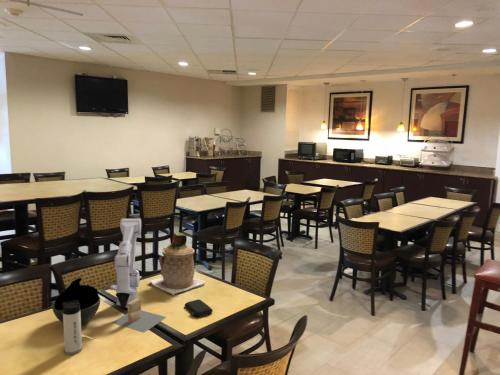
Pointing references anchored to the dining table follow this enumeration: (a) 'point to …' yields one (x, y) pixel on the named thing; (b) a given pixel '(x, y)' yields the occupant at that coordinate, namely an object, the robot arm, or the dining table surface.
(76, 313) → the travel mug
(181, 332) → the dining table surface
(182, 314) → the dining table surface
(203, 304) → the carrying case or bag
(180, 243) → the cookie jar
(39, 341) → the dining table surface
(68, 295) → the bowl of black rocks
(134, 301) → the brown wooden block
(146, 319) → the mat
